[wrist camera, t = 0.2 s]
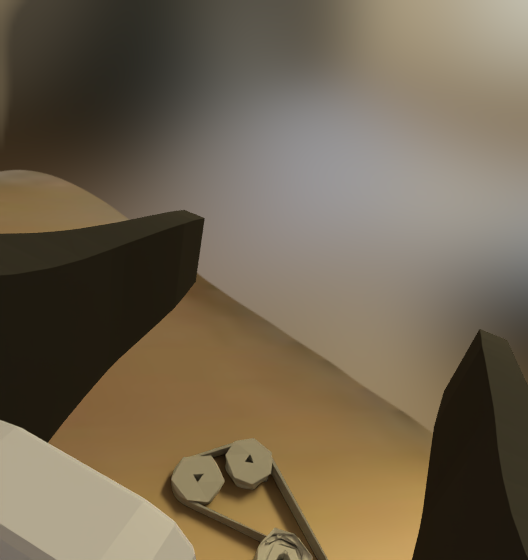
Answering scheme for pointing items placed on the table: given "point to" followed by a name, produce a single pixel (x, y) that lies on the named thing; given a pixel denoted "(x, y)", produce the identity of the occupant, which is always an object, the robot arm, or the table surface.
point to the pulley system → (246, 474)
